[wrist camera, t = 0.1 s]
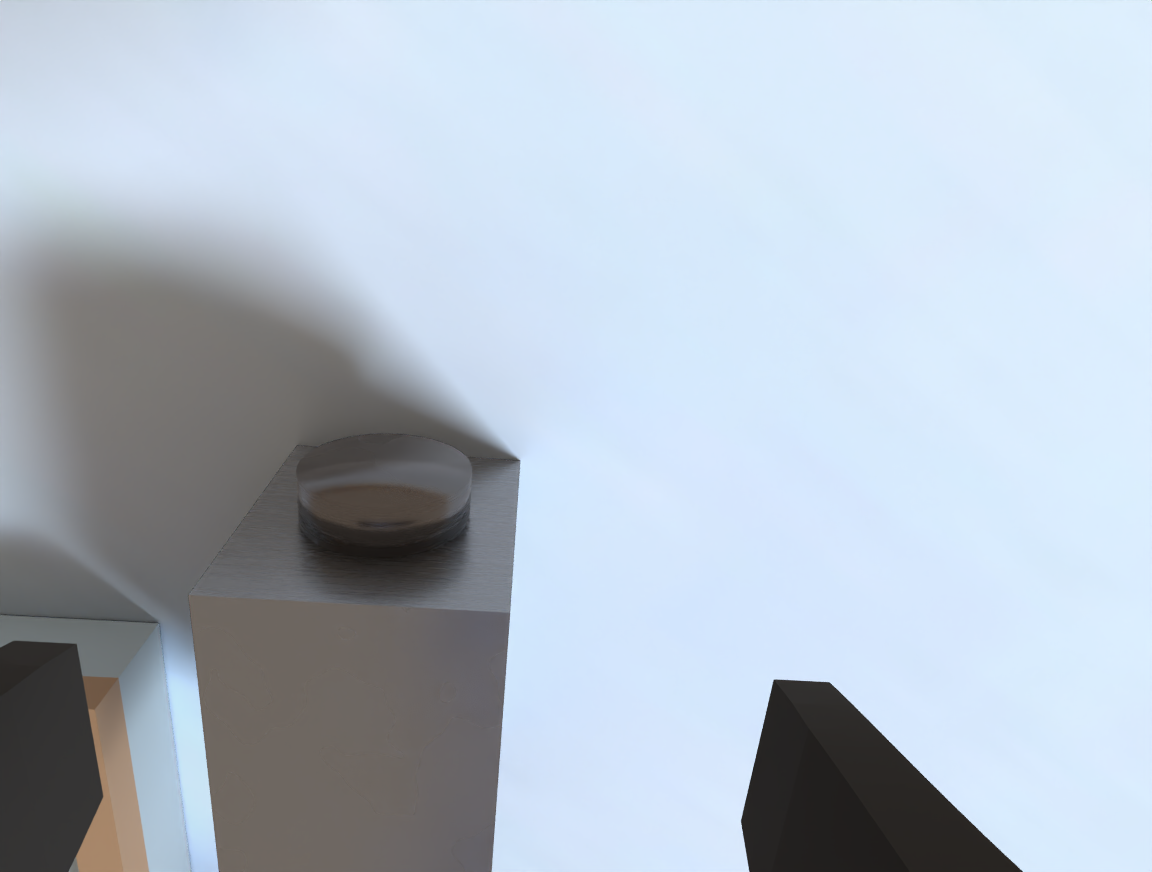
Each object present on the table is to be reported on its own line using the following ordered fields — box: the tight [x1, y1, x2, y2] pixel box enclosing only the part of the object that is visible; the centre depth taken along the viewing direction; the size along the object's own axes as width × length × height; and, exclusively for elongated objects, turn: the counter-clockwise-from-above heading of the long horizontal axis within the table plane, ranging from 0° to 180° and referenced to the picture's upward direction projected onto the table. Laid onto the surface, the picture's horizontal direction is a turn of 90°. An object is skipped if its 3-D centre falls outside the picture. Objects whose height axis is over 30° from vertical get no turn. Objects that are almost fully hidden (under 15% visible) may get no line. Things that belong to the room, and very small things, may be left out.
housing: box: [188, 434, 520, 872], centre depth 17 cm, size 9×5×6 cm, turn 174°
